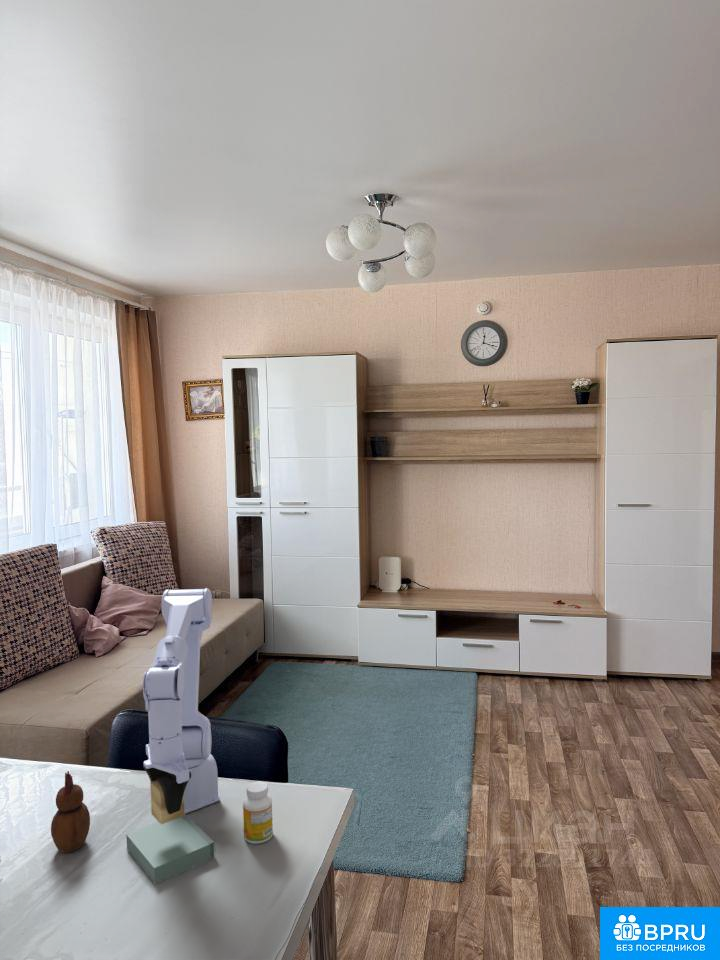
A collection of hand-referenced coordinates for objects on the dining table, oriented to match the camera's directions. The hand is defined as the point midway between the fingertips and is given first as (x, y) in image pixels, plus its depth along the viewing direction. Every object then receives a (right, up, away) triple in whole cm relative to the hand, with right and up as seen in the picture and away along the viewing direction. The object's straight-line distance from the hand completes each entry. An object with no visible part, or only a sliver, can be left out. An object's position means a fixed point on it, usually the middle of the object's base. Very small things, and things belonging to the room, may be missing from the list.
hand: (168, 805), depth 123 cm
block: (0, -2, 0) cm, 2 cm away
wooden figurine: (-19, -9, +3) cm, 21 cm away
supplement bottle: (+16, -9, +5) cm, 19 cm away
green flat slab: (0, -9, +1) cm, 9 cm away
